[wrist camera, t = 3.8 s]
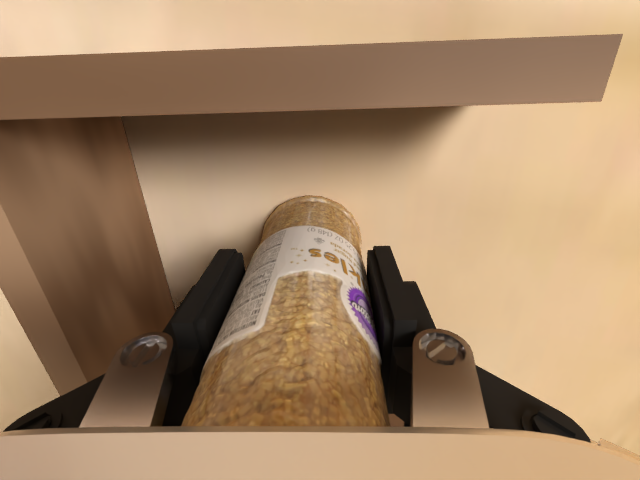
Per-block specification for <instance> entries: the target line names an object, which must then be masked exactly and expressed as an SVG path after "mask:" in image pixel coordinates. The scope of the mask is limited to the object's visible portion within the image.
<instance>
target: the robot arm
mask: <svg viewBox="0 0 640 480" xmlns="http://www.w3.org/2000/svg"><path fill="white" fill-rule="evenodd" d="M244 274H245V266H244V260H243V255H242V253H238V252H237V250H236V249H220V250H219V251H218V252H217V254H216V255H215V257H214V258H213V260H212V261H211V263H210V264H209V266H208V267H207V269H206V270H205V272H204V273H203V275H202V277H201V278H200V280H199V281H198V283H197V284H196V285H194V286H193V287H192V288H191V289H190V291H189V292H188V294H187V295H186V297H185V298H184V300H183V301H182V303H181V304H180V306H179V307H178V309H177V310H176V312H175V313H174V315H173V316H172V318H171V319H170V321H169V322H168V324H167V325H166V327H165V328H164V330H163V331H162V332H149V333H145V334H142V335H139V336H137V337H135V338H133V339H131V340H129V341H128V342H126V343H125V344H124V345H123V346H122V347H120V348H119V349H118V351H117V352H116V354H115V355H114V357H113V359H112V361H111V363H110V365H109V367H108V369H107V371H106V373H105V374H103V375H101V376H99V377H97V378H95V379H93V380H91V381H89V382H88V383H86V384H84V385H82V386H80V387H78V388H76V389H74V390H72V391H70V392H68V393H66V394H64V395H62V396H60V397H58V398H56V399H54V400H52V401H50V402H48V403H46V404H45V405H43V406H41V407H39V408H37V409H35V410H33V411H31V412H29V413H27V414H26V415H24V416H22V417H21V418H19V419H17V420H16V421H15V422H14V423H12V424H11V425H10V426H8V427H7V428H6V429H5V430H4V431H3V432H0V480H640V456H639V455H637V454H635V453H633V452H631V451H628V450H626V449H624V448H622V447H619V446H617V445H615V444H613V443H611V442H608V441H606V440H604V439H602V438H601V439H600V441H599V442H598V443H597V442H595V441H593V440H591V439H589V437H588V436H587V435H586V433H585V432H584V430H583V429H582V428H581V427H580V426H579V425H578V424H577V423H576V422H575V421H573V420H572V419H571V418H570V417H568V416H566V415H565V414H563V413H562V412H560V411H559V410H557V409H555V408H553V407H551V406H549V405H548V404H546V403H544V402H542V401H540V400H539V399H537V398H535V397H533V396H531V395H529V394H528V393H526V392H524V391H522V390H520V389H518V388H517V387H515V386H513V385H511V384H509V383H507V382H506V381H504V380H502V379H500V378H498V377H497V376H495V375H493V374H491V373H489V372H487V371H486V370H484V369H482V368H480V367H478V366H476V365H475V361H474V357H473V352H472V350H471V348H470V346H469V345H468V343H467V342H466V341H465V340H464V339H462V338H461V337H460V336H458V335H457V334H454V333H452V332H450V331H447V330H442V329H436V327H435V325H434V322H433V320H432V318H431V315H430V313H429V311H428V309H427V306H426V304H425V302H424V299H423V297H422V295H421V293H420V290H419V288H418V286H417V284H416V282H414V281H404V282H403V280H402V277H401V275H400V272H399V269H398V267H397V264H396V261H395V259H394V256H393V253H392V251H391V248H390V246H374V247H373V250H368V253H367V280H368V286H369V292H370V298H371V305H372V310H373V316H374V322H375V328H376V333H377V339H378V344H379V349H380V355H381V360H382V365H381V377H382V381H383V386H384V392H385V398H386V404H387V410H388V414H395V415H396V416H397V417H399V418H400V419H401V420H402V421H403V427H366V426H181V425H182V423H183V420H184V417H185V415H186V413H187V411H188V409H189V407H190V405H191V402H192V400H193V397H194V394H195V392H196V389H197V387H198V386H199V383H200V377H201V373H202V370H203V367H204V365H205V363H206V360H207V358H208V356H209V354H210V351H211V349H212V347H213V345H214V342H215V340H216V338H217V336H218V333H219V331H220V329H221V327H222V325H223V322H224V320H225V318H226V315H227V313H228V311H229V309H230V306H231V304H232V302H233V299H234V297H235V295H236V292H237V290H238V288H239V286H240V283H241V281H242V279H243V276H244Z"/></svg>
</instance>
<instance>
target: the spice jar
mask: <svg viewBox="0 0 640 480" xmlns="http://www.w3.org/2000/svg"><path fill="white" fill-rule="evenodd" d="M381 365H382V360H381V355H380V349H379V344H378V339H377V333H376V328H375V322H374V316H373V310H372V305H371V298H370V292H369V286H368V280H367V275H366V270H365V266H364V263H363V261H362V256H361V235H360V231H359V226H358V224H357V222H356V221H355V219H354V217H353V215H352V214H351V213H350V212H349V211H347V210H346V209H345V208H344V207H343V206H342V205H341V204H339V203H337V202H334V201H332V200H330V199H327V198H324V197H322V196H303V197H298V198H294V199H291V200H289V201H287V202H285V203H283V204H281V205H279V206H278V207H277V208H276V209H275V211H274V212H273V213H272V214H271V215H270V216H269V218H268V219H267V221H266V223H265V226H264V229H263V235H262V240H261V242H260V244H259V247H258V248H257V249H256V251H255V252H254V254H253V256H252V258H251V261H250V263H249V265H248V267H247V270H246V272H245V274H244V276H243V279H242V281H241V283H240V286H239V288H238V290H237V292H236V295H235V297H234V299H233V302H232V304H231V306H230V309H229V311H228V313H227V315H226V318H225V320H224V322H223V325H222V327H221V329H220V331H219V333H218V336H217V338H216V340H215V342H214V345H213V347H212V349H211V351H210V354H209V356H208V358H207V360H206V363H205V365H204V367H203V370H202V373H201V377H200V383H199V386H198V387H197V389H196V392H195V394H194V397H193V400H192V402H191V405H190V407H189V409H188V411H187V413H186V415H185V417H184V420H183V423H182V425H181V426H366V427H391V425H390V421H389V415H388V410H387V404H386V398H385V392H384V386H383V381H382V377H381Z"/></svg>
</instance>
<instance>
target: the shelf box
mask: <svg viewBox="0 0 640 480" xmlns="http://www.w3.org/2000/svg"><path fill="white" fill-rule="evenodd" d="M622 36H623V34H612V35H585V36H559V37H532V38H505V39H479V40H452V41H426V42H399V43H373V44H346V45H319V46H293V47H266V48H240V49H213V50H186V51H160V52H133V53H107V54H80V55H53V56H27V57H0V288H1V290H2V291H3V293H4V295H5V297H6V299H7V300H8V302H9V304H10V306H11V308H12V309H13V311H14V313H15V315H16V317H17V318H18V320H19V322H20V324H21V326H22V327H23V329H24V331H25V333H26V335H27V337H28V338H29V340H30V342H31V344H32V346H33V347H34V349H35V351H36V353H37V355H38V356H39V358H40V360H41V362H42V364H43V365H44V367H45V369H46V371H47V373H48V374H49V376H50V378H51V380H52V382H53V384H54V385H55V387H56V389H57V391H58V393H59V394H60V396H62V395H64V394H66V393H68V392H70V391H72V390H74V389H76V388H78V387H80V386H82V385H84V384H86V383H88V382H89V381H91V380H93V379H95V378H97V377H99V376H101V375H103V374H105V373H106V371H107V369H108V367H109V365H110V363H111V361H112V359H113V357H114V355H115V354H116V352H117V351H118V349H119V348H120V347H122V346H123V345H124V344H125V343H126V342H128V341H129V340H131V339H133V338H135V337H137V336H139V335H142V334H145V333H149V332H162V331H163V330H164V328H165V327H166V325H167V324H168V322H169V321H170V319H171V318H172V316H173V315H174V313H175V308H174V305H173V301H172V298H171V294H170V291H169V287H168V284H167V280H166V276H165V273H164V269H163V266H162V262H161V259H160V255H159V252H158V248H157V244H156V241H155V237H154V234H153V230H152V227H151V223H150V220H149V216H148V212H147V209H146V205H145V202H144V198H143V195H142V191H141V187H140V184H139V180H138V177H137V173H136V170H135V166H134V163H133V159H132V155H131V152H130V148H129V145H128V141H127V138H126V134H125V131H124V127H123V123H122V120H121V116H143V115H176V114H209V113H241V112H274V111H307V110H340V109H372V108H405V107H438V106H471V105H503V104H536V103H569V102H601V101H602V98H603V95H604V91H605V88H606V85H607V82H608V79H609V76H610V73H611V70H612V67H613V64H614V60H615V57H616V54H617V51H618V48H619V45H620V42H621V39H622ZM388 415H389V421H390V425H391V427H403V421H402V420H401V419H400V418H399V417H397V416H396V415H395V414H388Z"/></svg>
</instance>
